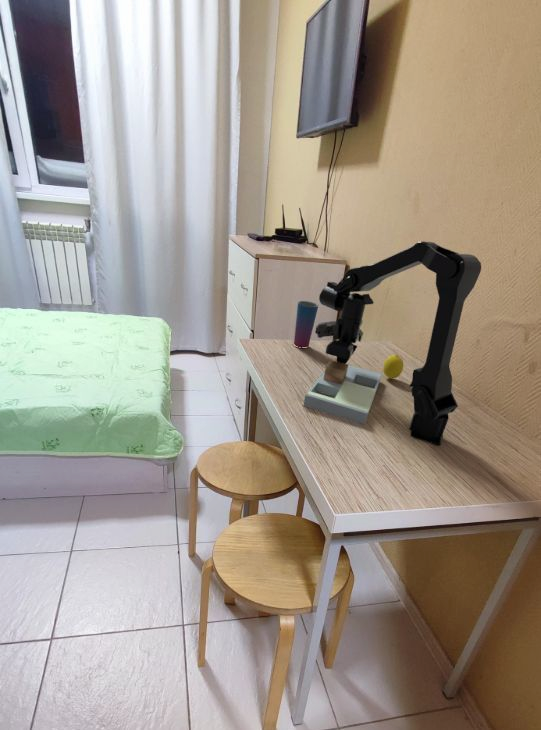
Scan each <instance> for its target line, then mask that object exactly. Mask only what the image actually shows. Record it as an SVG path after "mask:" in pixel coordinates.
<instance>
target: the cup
mask: <svg viewBox="0 0 541 730" xmlns="http://www.w3.org/2000/svg"><path fill="white" fill-rule="evenodd" d="M296 307H297V308H296V317H295V318H296V319H295V329H294V340H293V345H294V344H295V345H296V346H298V347H307V346H308V347H309V346H310V341H311V339H312V334H313V329H314V325H315V323H316V321H315V320H316V317H317V313H318V308H319V304H318V303H316V302H313V301H308V300H299V301H297V306H296Z"/></svg>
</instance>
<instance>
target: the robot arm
mask: <svg viewBox="0 0 541 730" xmlns="http://www.w3.org/2000/svg"><path fill="white" fill-rule="evenodd" d="M481 262H482V261H480V260H479V258H478V257H476V255H473V254H469V253H467V254H466V253H458V252H456V251H453V250H451V249H447V248H446V247H443V246H440V245H439V244H437V243H435V242H433V241H418V242H416V243H415V244H413V245H411V246H410V247H407V248H405V249H403V250H401V251H399V252H397V253H395V254H392V255H390V256H388V257H385V258H384V259H382V260H379V261H378V262H376V263H372V264H369V265H368V264H367V265H362V266H357V267H352V268H349V269H348V270H346V272H345V275H344V276H343V278H342V279H341V280H340V281H339V282H338V283H337V282H335V281H327V282H326V286H325V287H324V288H323V289H321V292H320V293H319V297H318V298H319V299H318V300H319V304H321V305H322V306H324V307H327V308H329V309H331V310H333V311H336V312H340V311H341V312H340V316H339V318H338V319H337V320H335V321H334V320H333V321H324V322H323V321H322V322H319V323H318V324H317V325H316V326H315V331H314V332H315V335H317V338H318V339H319V338H325V337H332V341H330V342H329V343H328V344H327V345H326V349H325V354H327V355H329V356H333V357H335V358H336V361H337V362H340V363H344V364H347V363H348V361H349V360H350V359H351V357H352V356H353V354H354V353H355V351H356V350H357V349H358V345H357V344H356V343H357V342H359V343H361V341H362V339H363V336H364V332H363V331H362V329H361V326H362V325H363V322H364V321H363V317H364V313H365V310H366V309H365V308H366V305H367V306H369V305H373V304H374V300H373V298H372V297H371V296H370V294H369V293H364V294H363V293H362V294H360V292H370V291H371V290H373V289H375V288H377V287H378V286H379V285H380V284H381V283H382V282H383V281H384V280H386V279H388V278H390V277H393V276H395V275H397V274H399V273H401V272H404V271H407V270H409V269H412V268H415V267H417V266H419V265H423V266H424V267H425V268H426V269H428V270H430V271H431V272H432V273H434V274H435V287H436V290H437V294H438V303H437V308H436V312H435V318H434V322H433V327H432V330H431V336H430V340H429V343H428V344H429V345H428V350H427V355H426V358H425V359H426V360H425V363H424V365H423V366H422V367H418V368H415V369H414V370H413V371H412V380H411V383H410V384H409V387H410V388H411V391H410V392H411V396H412V397H413V411H414V412H413V414H412V417H411V420H410V424H409V431H410V437H411V438H414V439H417V440H421V441H423V442H424V441H425V442H427V443H430V444H434V445H436V446H441V445H442V438H443V434H444V431H445V429H446V427H447V424H448V421H449V414H450V413H454V411H456V409H458V407H459V405H458V402H457V401H456V399H455V397H454V394H453V392H452V389H453V388H452V387H453V376H452V373H451V372H452V371H451V368H450V364H451V363H450V362H451V359H452V355H453V351H454V346H455V341H456V337H457V333H458V330H459V325H460V321H461V316H462V312H463V308H464V303H465V301H466V299H467V297H468V296H469V295H470V293H471V292H472V291H473V289H474V288H475V285H476V283H477V280H478V279H479V276H480V274H481V272H482V263H481ZM358 292H359V293H358ZM355 344H356V345H355Z"/></svg>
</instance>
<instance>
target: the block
mask: <svg viewBox="0 0 541 730" xmlns="http://www.w3.org/2000/svg"><path fill="white" fill-rule="evenodd" d="M348 365H349V364H347V363H346V364H344V363H340V362H337V360H333V359H330V360H329V362H328V363H327V364H326V365H325V369H324V371H325V374H324V380H327V381H330V382H334V383H337V384H342V383H343V381H344V380H345V378H346V374H347V370H348Z"/></svg>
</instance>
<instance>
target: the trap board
mask: <svg viewBox="0 0 541 730" xmlns="http://www.w3.org/2000/svg"><path fill="white" fill-rule="evenodd" d="M324 374H325V370H323V372H322V374H320V376H319V378H318V379H317V380H316V382H315V383H314V384H313V386H312V387H311V388H310V390H309V391H308V392H307V393H305V395H304V401H303V406H304V407H307V408H309V409H313V410H316V411H319V412H322V413H325V414H328V415H332V416H336V417H338V418H342V419H345V420H347V421H351V422H355V423H358V424H360V425H365V424H366V421H367V418H368V417H369V413H370V410H371V407H372V404H373V402H374V398H375V396H376V393H377V391H378V387H379V385H380V382H381V378H382V373H379V372H376V371H371V370H368V369H364V368H361V367H357V366H352V365H349V364H348V370H347V374H346V378H345V380H344V381H343V383H342V384H337V383H334V382H330V381H327V380H324ZM317 392H318V393H317ZM321 393H322V394H321ZM324 394H325V395H324ZM327 395H328V396H327ZM331 396H332V397H331Z"/></svg>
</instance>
